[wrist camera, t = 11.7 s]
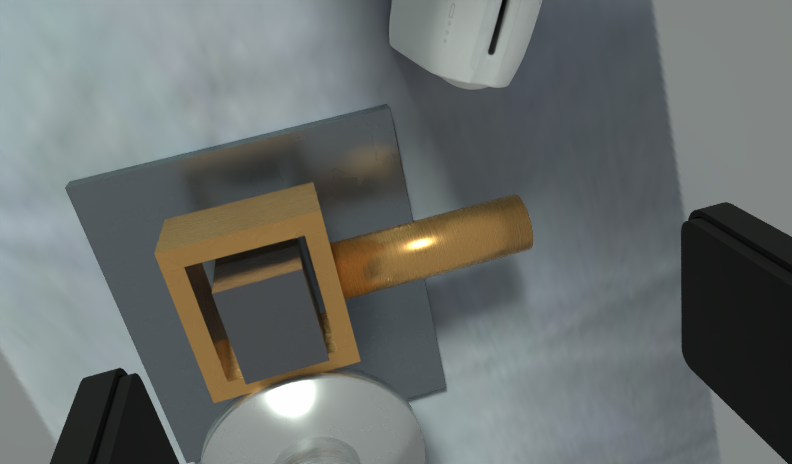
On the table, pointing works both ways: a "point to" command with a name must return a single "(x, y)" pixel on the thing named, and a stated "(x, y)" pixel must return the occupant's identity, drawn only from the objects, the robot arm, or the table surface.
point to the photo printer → (465, 38)
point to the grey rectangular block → (270, 309)
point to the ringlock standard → (333, 275)
